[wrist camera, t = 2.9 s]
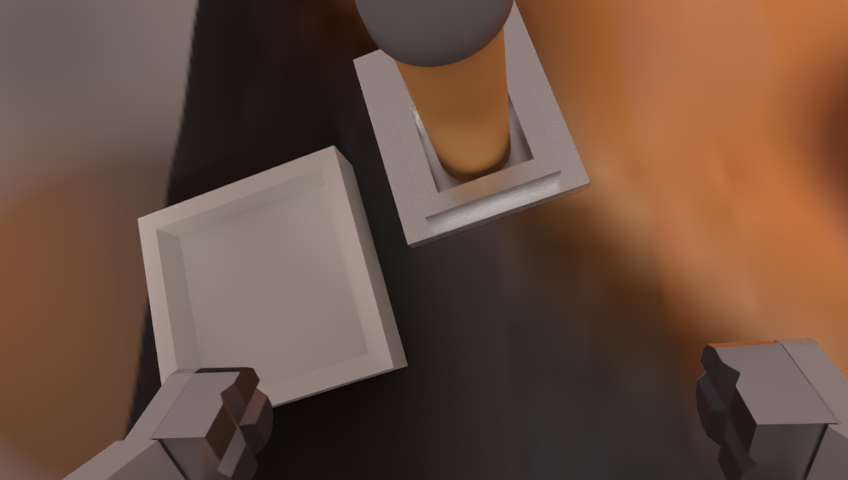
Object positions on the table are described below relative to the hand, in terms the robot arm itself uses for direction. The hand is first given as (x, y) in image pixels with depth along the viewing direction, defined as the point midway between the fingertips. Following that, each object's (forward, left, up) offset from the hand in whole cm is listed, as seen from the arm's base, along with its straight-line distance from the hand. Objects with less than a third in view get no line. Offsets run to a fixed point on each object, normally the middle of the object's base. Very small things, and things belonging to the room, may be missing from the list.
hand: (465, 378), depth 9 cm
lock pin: (+11, -2, -16) cm, 20 cm away
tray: (+7, +11, -17) cm, 21 cm away
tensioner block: (+13, -2, -17) cm, 22 cm away
